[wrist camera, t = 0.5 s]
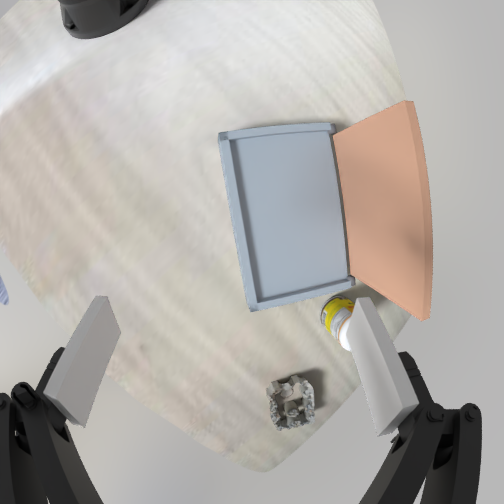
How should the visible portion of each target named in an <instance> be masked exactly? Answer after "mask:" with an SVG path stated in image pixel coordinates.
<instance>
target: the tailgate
mask: <svg viewBox="0 0 504 504" xmlns="http://www.w3.org/2000/svg"><path fill="white" fill-rule="evenodd" d="M333 140H334V145H335V151H336V156H337V162H338V168H339V174H340V181H341V188H342V195H343V202H344V210H345V218H346V227H347V237H348V247H349V259H350V273H351V275H352V276H354V277H356V278H357V279H359V280H360V281H362V282H363V283H365V284H366V285H368V286H369V287H371V288H373V289H374V290H376V291H377V292H379V293H380V294H382V295H383V296H385V297H386V298H388V299H389V300H391V301H392V302H394V303H395V304H397V305H398V306H400V307H401V308H403V309H404V310H406V311H407V312H409V313H410V314H412V315H413V316H415V317H416V318H418V319H419V320H421V321H423V320H426V319H428V318H430V308H431V295H432V275H433V237H432V214H431V201H430V190H429V182H428V174H427V166H426V160H425V154H424V148H423V143H422V137H421V132H420V127H419V123H418V118H417V115H416V110H415V106H414V102H413V101H405V100H404V101H402V102H400V103H398V104H396V105H393V106H391V107H389V108H387V109H385V110H383V111H381V112H379V113H377V114H374V115H372V116H370V117H368V118H366V119H364V120H362V121H360V122H358V123H356V124H354V125H352V126H350V127H348V128H346V129H345V130H343V131H341V132H339V133H337V134H335V135H333Z"/></svg>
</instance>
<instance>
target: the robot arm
mask: <svg viewBox="0 0 504 504" xmlns="http://www.w3.org/2000/svg"><path fill="white" fill-rule="evenodd" d="M58 1H59V2H60V6H61V14H62V20H63V25H64V27H65V28H66V30H67V31H68V32H69V33H70V34H71V35H72V36H73V37H75V38H79V39H91V38H96V37H100V36H103V35H106V34H108V33H111V32H113V31H115V30H117V29H119V28H120V27H122V26H124V25H125V24H127V23H128V22H130V21H131V20H132V19H133V18H135V17H136V16H137V15H138V14H139V13H140V12H141V11H142V9H143V8H144V7H145V5H146V4H147V2H148V0H58ZM120 334H121V331H120V328H119V326H118V323H117V321H116V318H115V316H114V313H113V311H112V308H111V305H110V302H109V300H108V297H107V296H95V298H94V300H93V301H92V303H91V305H90V306H89V308H88V309H87V311H86V313H85V314H84V316H83V318H82V319H81V321H80V323H79V325H78V326H77V328H76V330H75V332H74V333H73V335H72V337H71V339H70V341H69V342H68V344H67V346H66V348H63V347H60V348H59V349H58V350H57V351H56V352H55V353H54V355H53V356H52V358H51V360H50V363H49V364H48V366H47V369H46V370H45V372H44V374H43V376H42V378H41V380H40V382H39V384H38V386H37V388H36V390H35V391H34V389H33V388H32V387H31V386H30V385H29V384H28V383H26V382H20V383H18V384H16V385H15V386H14V388H13V389H12V392H11V398H12V399H11V398H10V397H9V396H8V395H7V394H6V393H0V504H48V500H49V503H50V504H104V503H103V502H102V500H101V498H100V497H99V495H98V493H97V491H96V489H95V487H94V486H93V484H92V482H91V480H90V478H89V476H88V474H87V472H86V470H85V468H84V465H83V463H82V461H81V459H80V456H79V454H78V452H77V449H76V447H75V445H74V442H73V440H72V437H71V434H70V432H69V429H68V426H67V425H66V423H65V421H66V419H68V420H69V421H70V422H71V423H72V424H74V425H77V426H80V427H84V428H85V426H86V423H87V420H88V417H89V414H90V411H91V408H92V405H93V402H94V399H95V397H96V394H97V391H98V388H99V386H100V383H101V381H102V378H103V375H104V373H105V370H106V368H107V365H108V363H109V360H110V358H111V355H112V353H113V351H114V348H115V346H116V343H117V341H118V339H119V336H120ZM346 337H347V340H348V343H349V346H350V349H351V352H352V355H353V358H354V361H355V364H356V367H357V370H358V373H359V376H360V379H361V382H362V386H363V389H364V392H365V395H366V398H367V402H368V405H369V408H370V412H371V415H372V419H373V422H374V426H375V430H376V433H377V436H382V435H386V434H390V433H392V432H393V431H394V430H395V429H396V428H397V427H398V430H399V434H397V436H396V437H394V438H393V439H392V441H391V443H393V442H394V443H393V445H392V447H391V449H390V451H389V453H388V455H387V457H386V459H385V461H384V463H383V465H382V466H381V469H380V470H379V472H378V474H377V475H376V477H375V479H374V481H373V482H372V484H371V485H370V487H369V489H368V490H367V492H366V494H365V495H364V497H363V498H362V500H361V501H360V503H359V504H413V503H414V501H415V499H416V497H417V494H418V493H419V490H420V488H421V486H422V484H423V482H424V480H425V477H426V480H425V485H424V490H423V494H422V499H421V502H420V504H476V498H477V492H478V485H479V476H480V465H481V448H482V417H481V411H480V409H479V408H478V407H477V406H476V405H475V404H472V403H467V404H465V405H464V406H463V407H462V408H461V409H444V408H443V407H442V406H441V405H439V404H437V403H434V402H433V400H432V398H431V396H430V393H429V391H428V389H427V387H426V384H425V382H424V380H423V378H422V376H421V373H420V371H419V369H418V367H417V365H416V363H415V361H414V359H413V358H412V357H411V356H410V355H409V354H408V353H407V352H400V353H397V351H396V348H395V346H394V344H393V342H392V340H391V338H390V336H389V334H388V332H387V330H386V328H385V326H384V324H383V322H382V320H381V318H380V316H379V314H378V312H377V310H376V308H375V306H374V304H373V302H372V300H371V298H370V297H363V298H357V299H356V303H355V306H354V310H353V313H352V316H351V319H350V323H349V326H348V329H347V332H346ZM15 431H16V436H15ZM47 498H48V500H47Z"/></svg>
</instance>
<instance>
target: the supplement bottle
mask: <svg viewBox="0 0 504 504" xmlns="http://www.w3.org/2000/svg"><path fill="white" fill-rule="evenodd" d="M354 306H355V304H354V303H353V302H352V301H350V300H349V299H347V298H346V297H343V296H336V297H333V298H331V299H329V300H328V301H327V302H326V303H325V304H324V305H323V307H322V309H321V312H320V320H321V323H322V324H323V326H324V327H325V328H326V329H327V330H328V331H329V332H330V334H331V335H332V336H333V337H334V338H335V339H336V340H337V341H338V342H339V344H340V345H341V346H342V347H343V348H344V349H346V350H348V351H351V349H350V346H349V343H348V340H347V337H346V332H347V329H348V326H349V323H350V319H351V316H352V313H353V310H354Z"/></svg>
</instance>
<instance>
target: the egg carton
mask: <svg viewBox="0 0 504 504" xmlns="http://www.w3.org/2000/svg"><path fill="white" fill-rule="evenodd" d="M295 383H300V384H301V385H300V386H299V390H300V392H301V394H302V396H303V398H302V400H301V402H302V404H303V406H304V408H305V410H304V412H303V414H300V415H299V413H300V412H299V409H298V407H297V405H296V403H295V402H294V401H288V402H286V403H285V404H284V405H283V408H284V411H285V413H286V415H287V416H286V419H283V420H280V418H281V416H280V414H279V411H278V409H277V407H278V406H277V405H278V404H277V402H276V400H275V395H276V394H277V393H279V392H280V391H281V390H282V391H281V392H280V395H281V396H282V397H289V396H291V395H292V394H293V389H292V387H293V386H294V385H295ZM266 394H267V397H268V399H269V400H270V402H269V404H270V411H271V419H272V421H273V423H274V425H275V427H276V428H277V430H278V431H281V429H283V428H287V429H290V428H292V427H298V426H303V425H304V424H312V423H315V415H314V408H315V405H314V390H313V387H312V386H311V385H310V384H309V382H308V381H306V380H305V378H299V377H298V376H297V375H294V376H291V378H290V380H289V381H288V382H287V383H284V384H281V383H278V381H273V382H271V385H270V386H269V387H268V388H267V389H266Z"/></svg>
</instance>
